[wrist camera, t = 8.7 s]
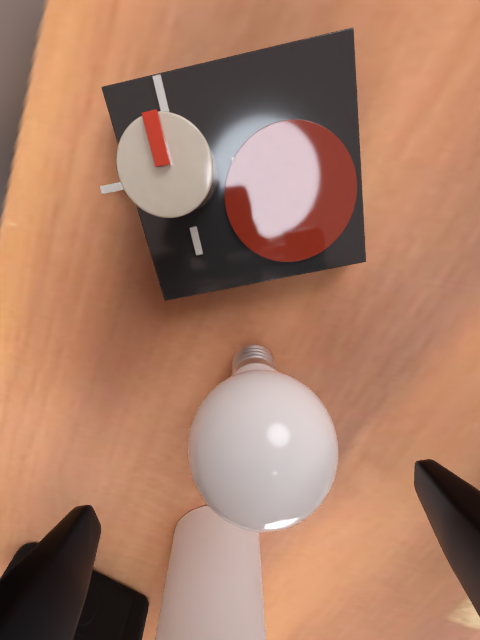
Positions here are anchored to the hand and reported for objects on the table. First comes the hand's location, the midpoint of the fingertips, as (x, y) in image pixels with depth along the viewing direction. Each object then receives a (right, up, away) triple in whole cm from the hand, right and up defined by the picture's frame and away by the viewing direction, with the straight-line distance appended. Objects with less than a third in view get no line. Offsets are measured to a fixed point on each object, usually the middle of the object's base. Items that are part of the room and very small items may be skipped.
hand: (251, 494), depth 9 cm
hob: (0, +12, +9) cm, 15 cm away
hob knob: (-3, +12, +6) cm, 14 cm away
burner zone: (+2, +11, +7) cm, 13 cm away
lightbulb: (+1, +2, +13) cm, 13 cm away
